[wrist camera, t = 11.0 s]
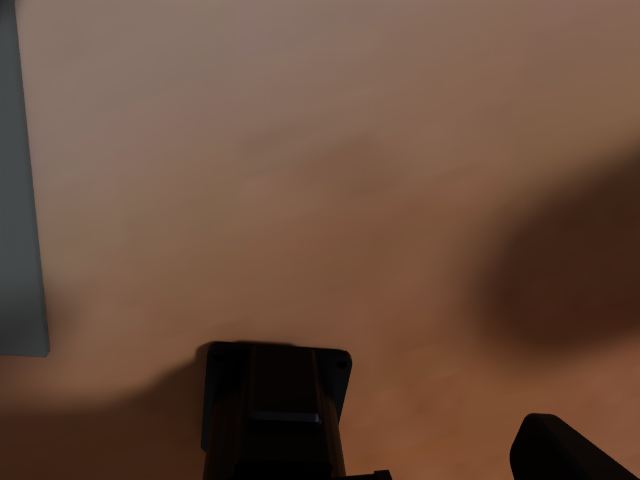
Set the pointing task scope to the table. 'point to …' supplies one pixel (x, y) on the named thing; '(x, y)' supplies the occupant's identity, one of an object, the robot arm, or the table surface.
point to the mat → (17, 211)
